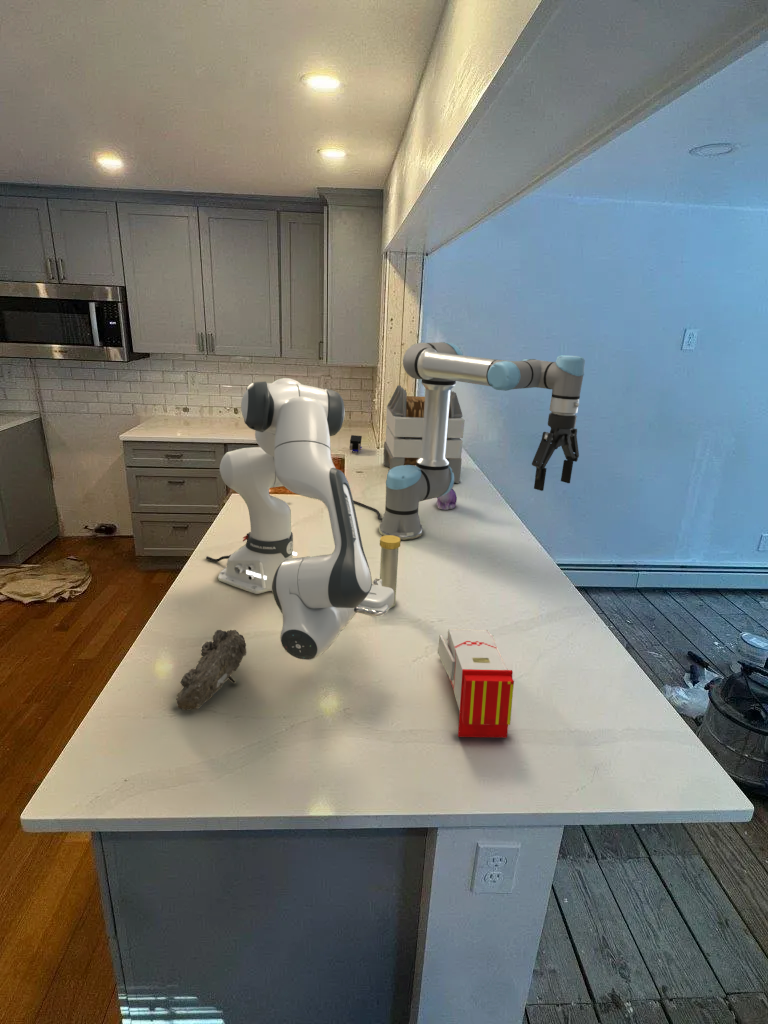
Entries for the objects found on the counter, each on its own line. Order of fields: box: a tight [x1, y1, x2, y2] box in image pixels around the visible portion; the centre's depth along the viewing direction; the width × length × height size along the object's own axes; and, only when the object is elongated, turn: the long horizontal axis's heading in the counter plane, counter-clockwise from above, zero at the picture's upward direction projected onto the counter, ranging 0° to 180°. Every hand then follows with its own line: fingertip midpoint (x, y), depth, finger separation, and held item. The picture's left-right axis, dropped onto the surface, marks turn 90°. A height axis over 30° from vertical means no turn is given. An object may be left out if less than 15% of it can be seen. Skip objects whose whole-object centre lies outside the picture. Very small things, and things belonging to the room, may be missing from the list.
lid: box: [379, 535, 402, 549], centre depth 146 cm, size 5×5×2 cm
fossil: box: [175, 629, 247, 711], centre depth 117 cm, size 22×10×15 cm
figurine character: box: [349, 434, 363, 454], centre depth 310 cm, size 7×8×15 cm
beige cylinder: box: [379, 546, 400, 608], centre depth 149 cm, size 4×4×18 cm
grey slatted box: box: [383, 384, 465, 484], centre depth 268 cm, size 34×33×41 cm
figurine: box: [435, 486, 458, 511], centre depth 227 cm, size 9×10×15 cm
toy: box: [437, 628, 515, 738], centre depth 117 cm, size 12×13×30 cm
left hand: (359, 577), depth 127 cm, fingers open, 8 cm apart
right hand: (552, 485), depth 166 cm, fingers open, 13 cm apart
